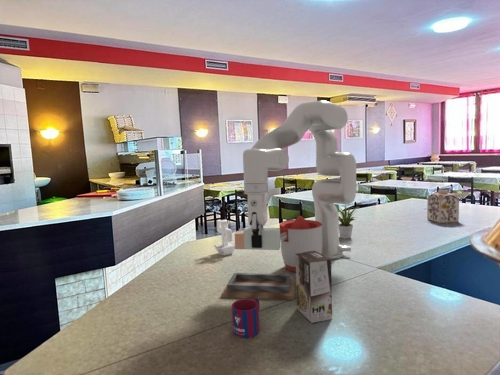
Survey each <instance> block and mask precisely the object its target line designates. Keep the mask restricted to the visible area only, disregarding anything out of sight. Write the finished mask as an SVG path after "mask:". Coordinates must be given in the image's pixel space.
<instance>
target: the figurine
mask: <svg viewBox="0 0 500 375" xmlns="http://www.w3.org/2000/svg"><path fill="white" fill-rule="evenodd" d="M216 230H217V232H218V233H219V234H221V243H219V244H218V243H217V244H215V245H213V247H214V248H215V249H216V251H217V252H218V254H219V255H222V256H227V255H232V254H233V253H234V251H235V250H236V249H235V243H231V242H233V230H232V229H231V228H229V224H228V220H227V219H221V220H220V219H218V220H217V221H216Z"/></svg>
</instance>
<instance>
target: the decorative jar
mask: <svg viewBox="0 0 500 375" xmlns="http://www.w3.org/2000/svg"><path fill="white" fill-rule="evenodd" d="M437 190H438V191H437V192H432V193H431V194H430V195H428V197H427V206H426V207H427V208H426V211H427V212H426V219H427V220H429V221H432V222H435V223H438V224H447V223H448V222H451V223H458V222H459V220H460V219H459V218H460V199H459V198H458V196H457V195H456V194H455V193H454V192H449V191H448V189H437ZM448 224H449V223H448Z"/></svg>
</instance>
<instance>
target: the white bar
mask: <svg viewBox="0 0 500 375" xmlns="http://www.w3.org/2000/svg"><path fill="white" fill-rule="evenodd" d="M258 229H259V228H258ZM258 231H259V230H258ZM261 235H262V248H252V241H251V227H245V228H244V229H243V230H237V231H235V233H234V245H235V250H252V251H253V250H254V251H255V250H256V251H257V250H259V251H261V250H262V251H265V250H267V251H279V250H281V242H280V227H263V228H261Z"/></svg>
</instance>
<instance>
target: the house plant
mask: <svg viewBox="0 0 500 375" xmlns="http://www.w3.org/2000/svg"><path fill="white" fill-rule="evenodd" d="M337 207H338V208H337ZM337 207H336V208H337V210H338V213H339V238H341V239H345V238H348V239H351V238H352V234H353V228H354V227H353V226H354V225H353V224H352V223H351V222H353V221H356V219H357V217H355V216H353V215H354V214H355V212H357V210H356V209H358V208H360V206H357V207H354V206H353V207H351V209H350V208H347V206H346V205H344V209H342V208H340V206H338V205H337ZM339 208H340V209H339ZM352 208H353V209H352ZM350 210H352V211H350Z"/></svg>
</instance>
